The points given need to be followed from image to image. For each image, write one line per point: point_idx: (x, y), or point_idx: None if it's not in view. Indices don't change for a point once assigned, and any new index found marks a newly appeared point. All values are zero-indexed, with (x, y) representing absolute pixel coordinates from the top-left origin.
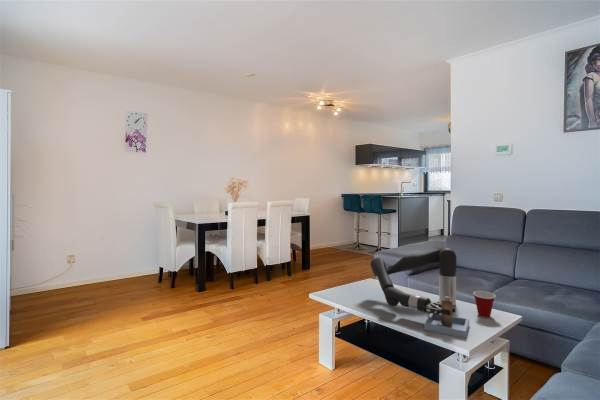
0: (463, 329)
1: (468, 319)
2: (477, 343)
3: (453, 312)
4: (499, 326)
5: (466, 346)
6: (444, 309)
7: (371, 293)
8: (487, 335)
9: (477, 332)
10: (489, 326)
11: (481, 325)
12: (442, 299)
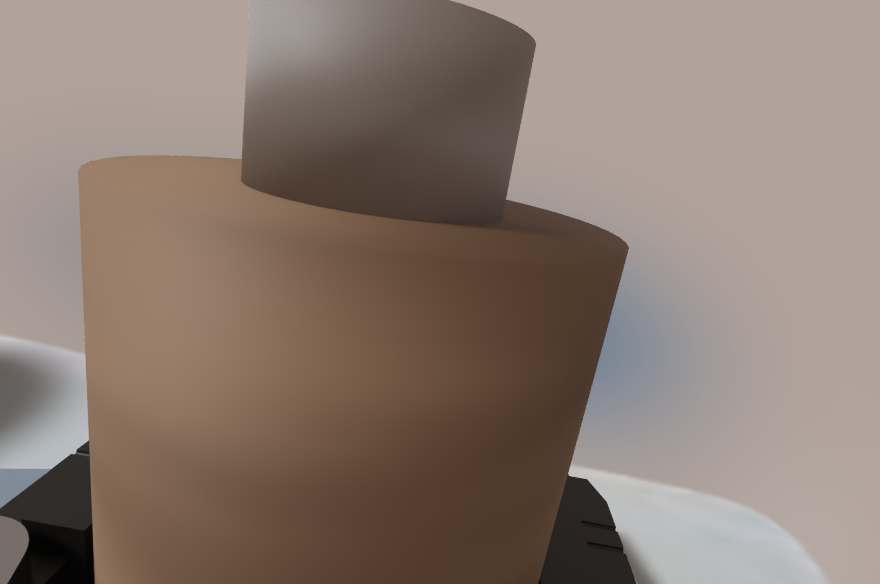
0: None
1: (38, 471)
2: (571, 465)
3: None
4: (24, 357)
5: (726, 522)
6: (561, 552)
7: None
8: None
9: None
10: (35, 402)
11: (3, 449)
12: (330, 232)
